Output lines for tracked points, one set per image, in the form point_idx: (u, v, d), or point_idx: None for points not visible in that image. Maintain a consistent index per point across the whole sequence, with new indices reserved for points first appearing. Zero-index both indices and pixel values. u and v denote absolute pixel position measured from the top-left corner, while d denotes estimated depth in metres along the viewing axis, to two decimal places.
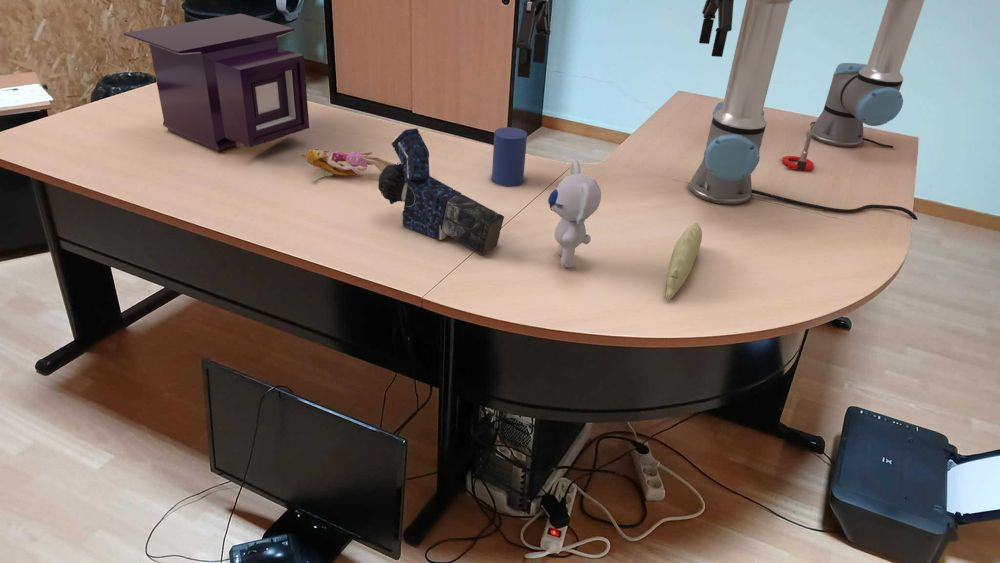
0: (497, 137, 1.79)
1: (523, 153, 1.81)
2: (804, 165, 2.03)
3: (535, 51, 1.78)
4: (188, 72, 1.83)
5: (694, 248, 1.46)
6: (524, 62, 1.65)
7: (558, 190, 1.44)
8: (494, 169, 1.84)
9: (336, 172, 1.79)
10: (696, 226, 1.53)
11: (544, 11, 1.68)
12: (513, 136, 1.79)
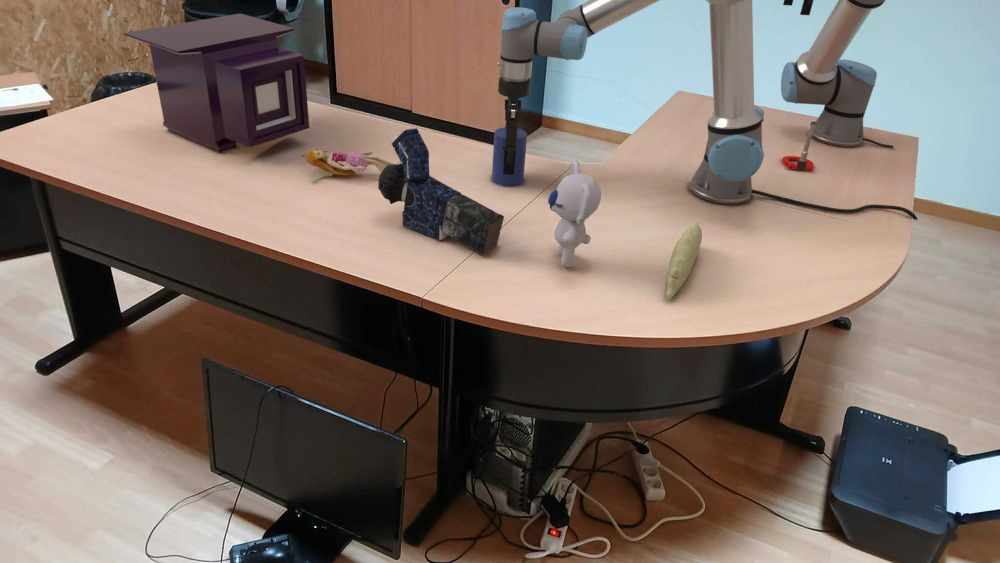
0: (497, 137, 1.79)
1: (523, 153, 1.81)
2: (804, 165, 2.03)
3: None
4: (188, 72, 1.83)
5: (694, 248, 1.46)
6: (510, 162, 1.79)
7: (558, 190, 1.44)
8: (494, 169, 1.84)
9: (336, 172, 1.79)
10: (696, 226, 1.53)
11: None
12: None
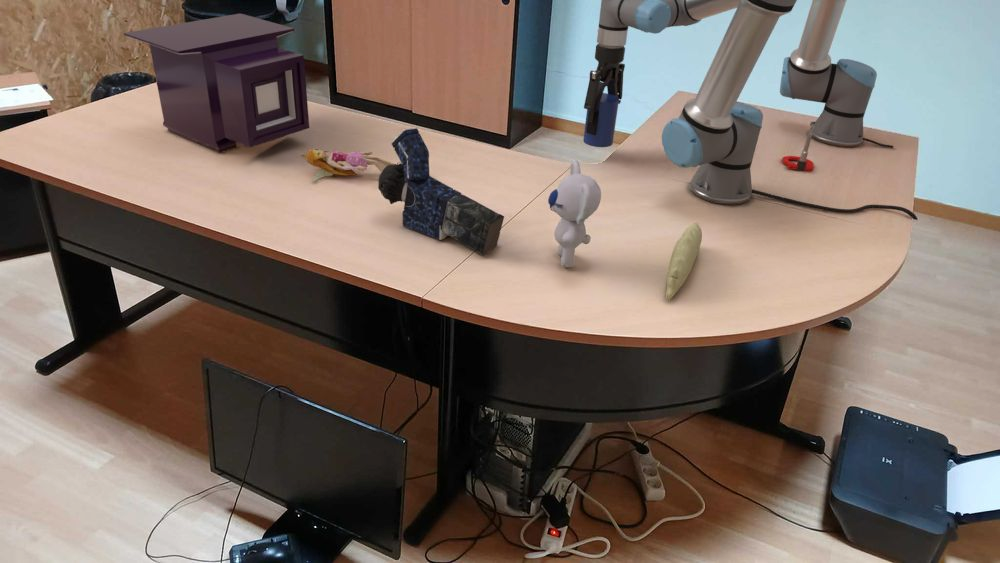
0: None
1: (608, 118, 1.95)
2: (804, 165, 2.03)
3: None
4: (188, 72, 1.83)
5: (694, 248, 1.46)
6: (590, 121, 1.94)
7: (558, 190, 1.44)
8: None
9: (336, 172, 1.79)
10: (696, 226, 1.53)
11: (614, 77, 1.93)
12: (601, 99, 1.94)
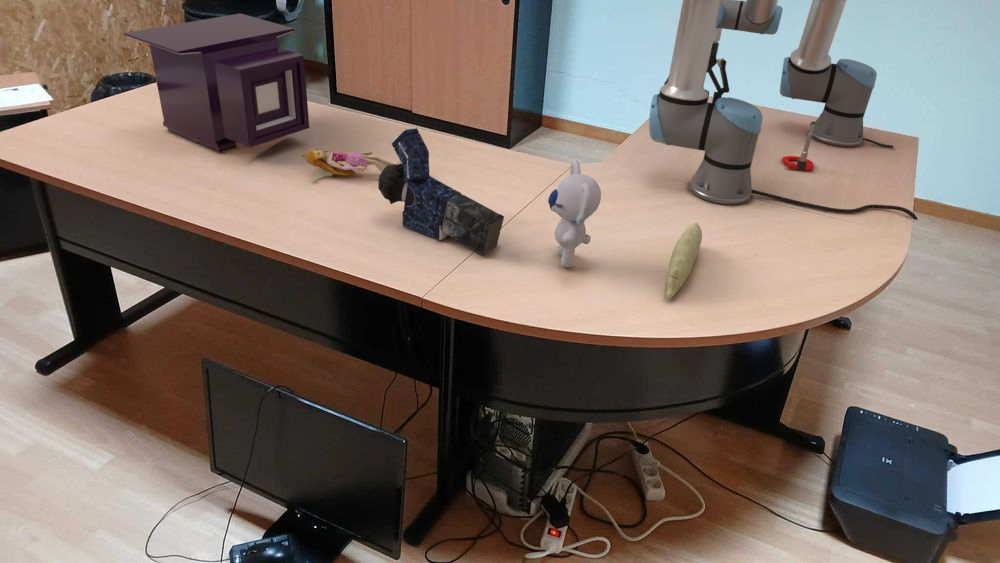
0: None
1: None
2: (804, 165, 2.03)
3: None
4: (188, 72, 1.83)
5: (694, 248, 1.46)
6: None
7: (558, 190, 1.44)
8: None
9: (336, 172, 1.79)
10: (696, 226, 1.53)
11: (707, 70, 2.16)
12: None
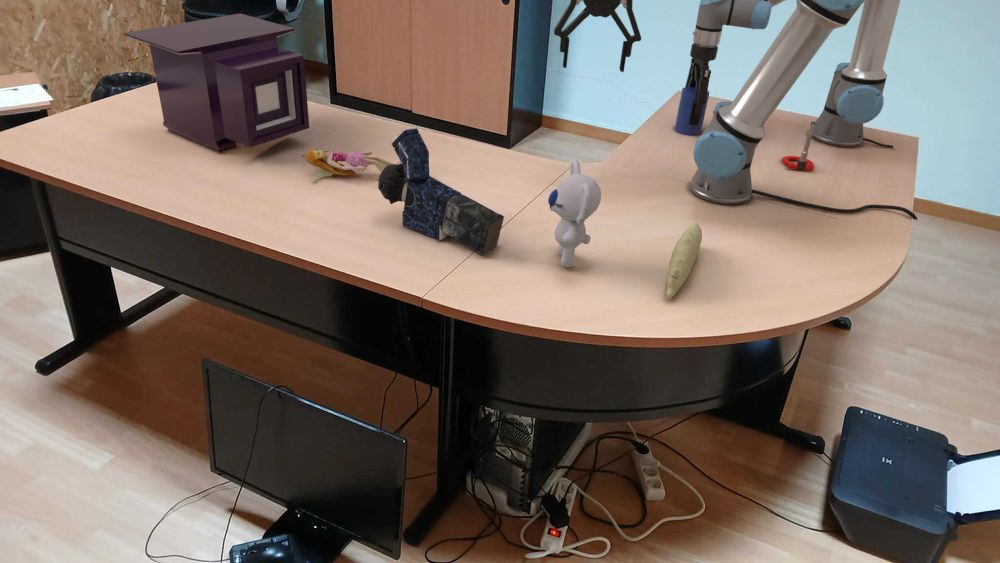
0: None
1: (688, 108, 2.20)
2: (804, 165, 2.03)
3: (621, 58, 1.74)
4: (188, 72, 1.83)
5: (694, 248, 1.46)
6: (560, 50, 1.72)
7: (558, 190, 1.44)
8: None
9: (336, 172, 1.79)
10: (696, 226, 1.53)
11: (609, 13, 1.66)
12: (688, 91, 2.20)
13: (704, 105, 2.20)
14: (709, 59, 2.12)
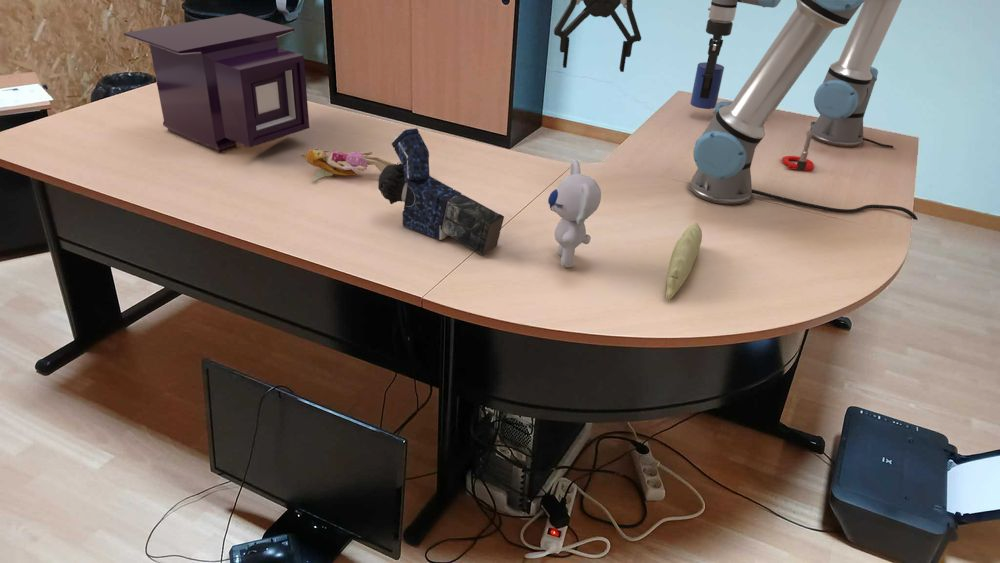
0: None
1: (699, 81, 2.30)
2: (804, 165, 2.03)
3: (621, 58, 1.74)
4: (188, 72, 1.83)
5: (694, 248, 1.46)
6: (560, 50, 1.72)
7: (558, 190, 1.44)
8: None
9: (336, 172, 1.79)
10: (696, 226, 1.53)
11: (609, 13, 1.66)
12: (703, 65, 2.30)
13: (716, 80, 2.28)
14: (720, 34, 2.21)
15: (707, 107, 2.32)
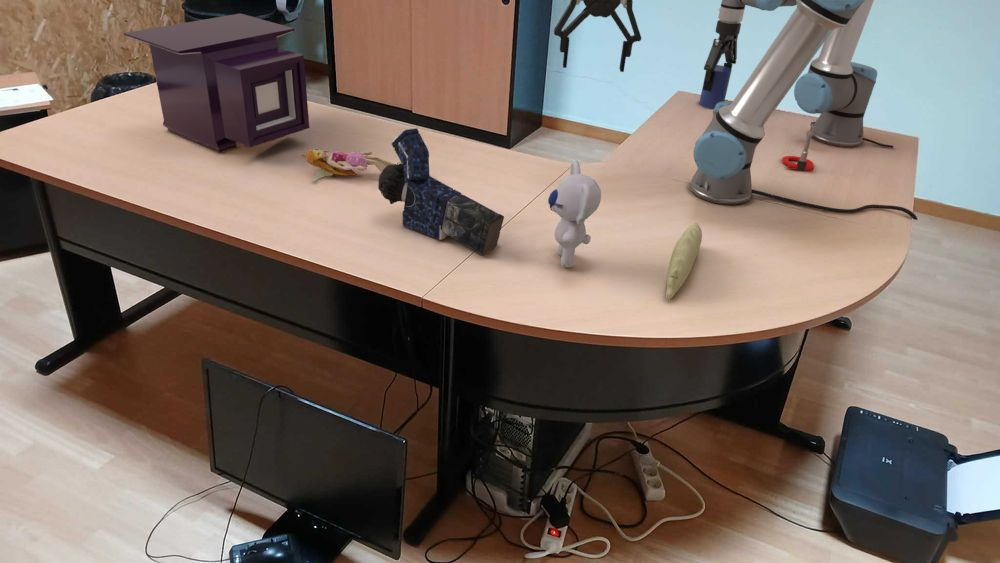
0: None
1: None
2: (804, 165, 2.03)
3: (621, 58, 1.74)
4: (188, 72, 1.83)
5: (694, 248, 1.46)
6: (560, 50, 1.72)
7: (558, 190, 1.44)
8: None
9: (336, 172, 1.79)
10: (696, 226, 1.53)
11: (609, 13, 1.66)
12: None
13: (720, 81, 2.42)
14: (725, 34, 2.35)
15: (711, 107, 2.47)
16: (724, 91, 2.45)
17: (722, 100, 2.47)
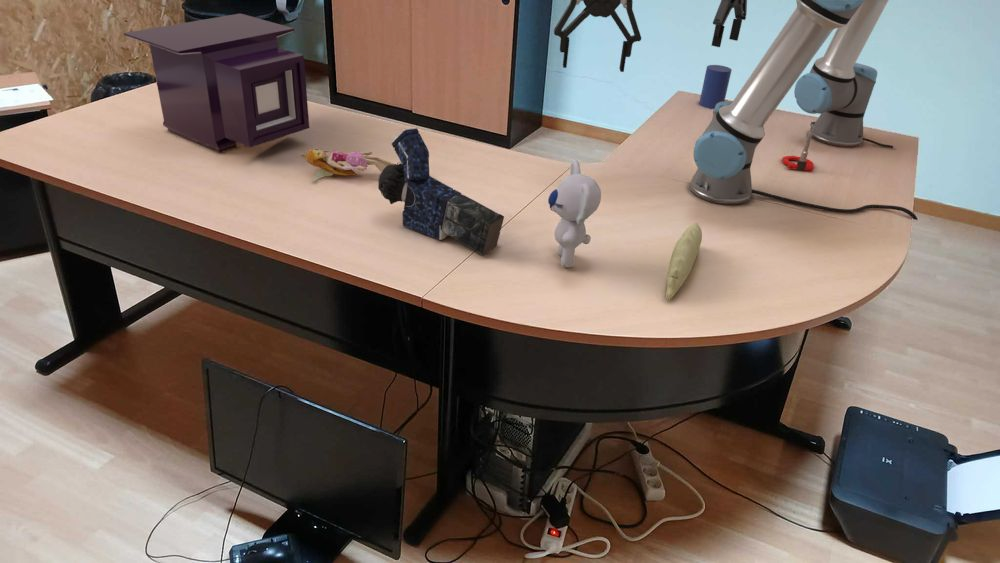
0: None
1: (705, 81, 2.45)
2: (804, 165, 2.03)
3: (621, 58, 1.74)
4: (188, 72, 1.83)
5: (694, 248, 1.46)
6: (560, 50, 1.72)
7: (558, 190, 1.44)
8: None
9: (336, 172, 1.79)
10: (696, 226, 1.53)
11: (609, 13, 1.66)
12: (712, 66, 2.45)
13: (720, 81, 2.42)
14: None
15: (711, 107, 2.47)
16: (724, 91, 2.45)
17: (722, 100, 2.47)
